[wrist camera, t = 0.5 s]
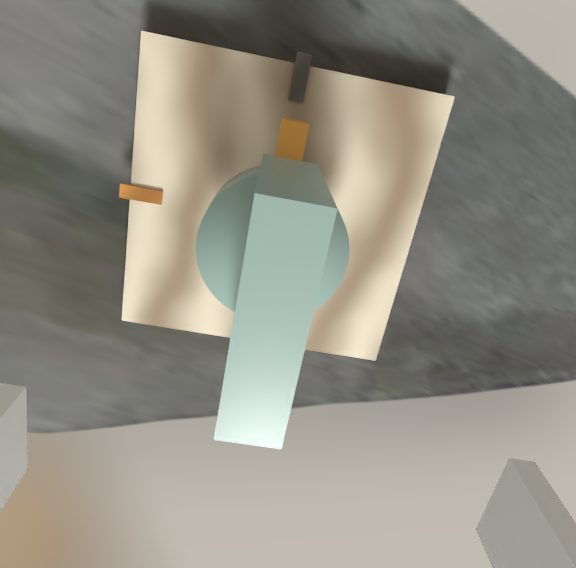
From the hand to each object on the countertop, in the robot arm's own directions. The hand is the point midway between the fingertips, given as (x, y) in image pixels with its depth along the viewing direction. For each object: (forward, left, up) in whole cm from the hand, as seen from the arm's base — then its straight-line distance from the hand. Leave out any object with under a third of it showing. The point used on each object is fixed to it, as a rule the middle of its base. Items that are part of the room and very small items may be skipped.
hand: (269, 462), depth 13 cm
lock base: (0, 0, -27) cm, 27 cm away
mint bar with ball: (0, +1, -21) cm, 21 cm away
